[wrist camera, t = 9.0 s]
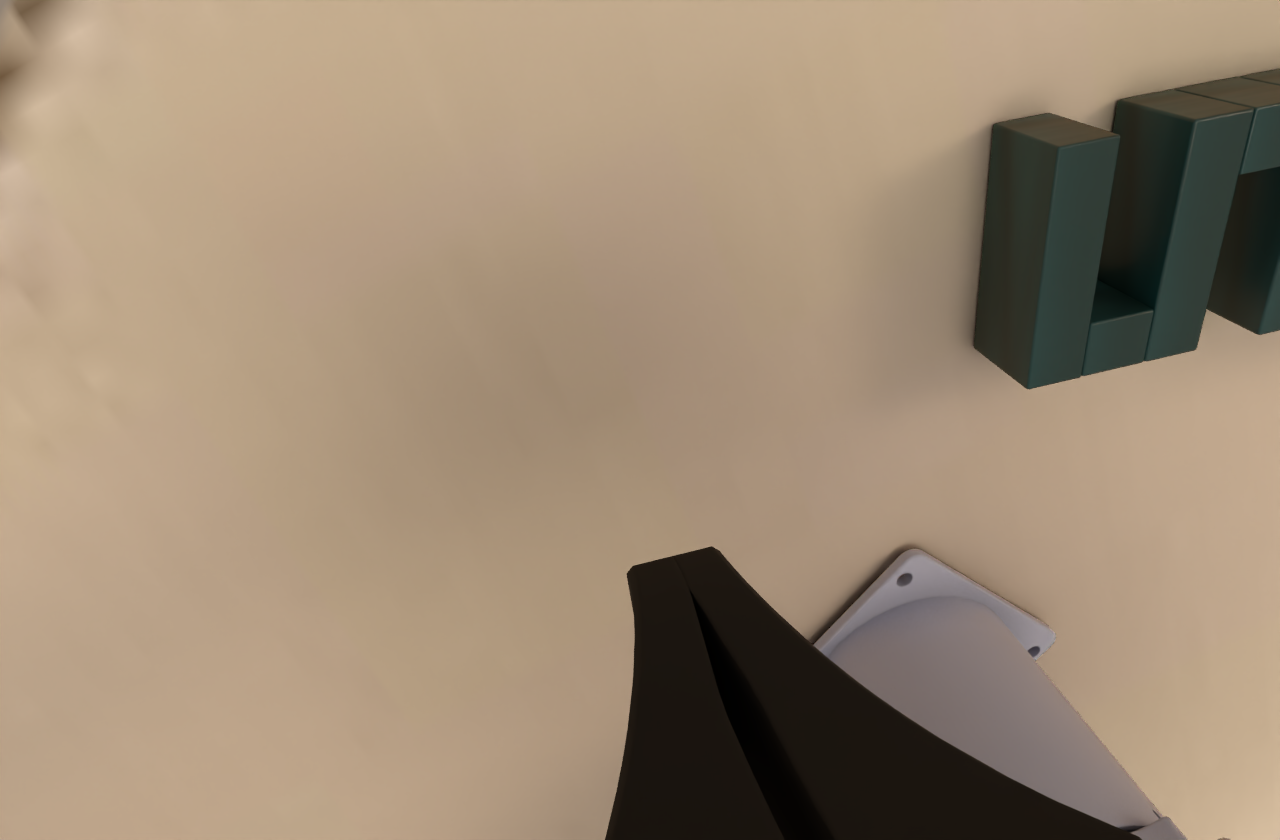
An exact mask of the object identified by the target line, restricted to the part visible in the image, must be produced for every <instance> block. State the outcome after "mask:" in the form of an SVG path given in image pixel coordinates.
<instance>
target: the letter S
mask: <svg viewBox="0 0 1280 840" xmlns="http://www.w3.org/2000/svg"><path fill="white" fill-rule="evenodd" d="M1206 309H1207V310H1209V311H1211V312H1213V313H1215V314H1217V315H1219V316H1221V317H1223V318H1225V319H1227V320H1229V321H1231V322H1233V323H1235V324H1237V325H1239V326H1241V327H1243V328H1245V329H1247V330H1249V331H1251V332H1253V333H1255V334H1258V335H1261V334H1266V333H1270V332H1274V331H1279V330H1280V69H1276V70H1271V71H1266V72H1261V73H1256V74H1250V75H1245V76H1241V77H1233V78H1228V79H1223V80H1218V81H1213V82H1207V83H1202V84H1197V85H1192V86H1187V87H1182V88H1176V89H1174V90H1167V91H1162V92H1157V93H1152V94H1146V95H1141V96H1136V97H1131V98H1126V99H1121V100H1119V101H1118V103H1117V109H1116V115H1115V122H1114V128H1113V133H1112V132H1109V131H1105V130H1102V129H1099V128H1096V127H1093V126H1089V125H1086V124H1083V123H1080V122H1077V121H1073V120H1070V119H1067V118H1064V117H1061V116H1058V115H1054V114H1051V113H1047V114H1042V115H1037V116H1031V117H1026V118H1021V119H1016V120H1011V121H1006V122H1000V123H996V124H994V125H993V135H992V146H991V158H990V169H989V180H988V192H987V203H986V214H985V226H984V237H983V249H982V260H981V271H980V283H979V294H978V305H977V317H976V328H975V340H974V348H975V349H976V350H977V351H979V352H980V353H981V354H982V355H984V356H985V357H986V358H988V359H989V360H990V361H991V362H993V363H994V364H995V365H997V366H998V367H999V368H1000V369H1002V370H1003V371H1004V372H1006V373H1007V374H1008V375H1009V376H1011V377H1012V378H1013V379H1014V380H1016V381H1017V382H1018V383H1020V384H1021V385H1022V386H1023V387H1025V388H1026V389H1032V388H1037V387H1041V386H1045V385H1049V384H1054V383H1058V382H1062V381H1066V380H1071V379H1075V378H1079V377H1081V376H1086V375H1091V374H1095V373H1099V372H1103V371H1108V370H1112V369H1116V368H1120V367H1125V366H1129V365H1133V364H1138V363H1141V362H1143V361H1151V360H1155V359H1159V358H1164V357H1168V356H1172V355H1176V354H1181V353H1185V352H1189V351H1194V350H1196V348H1197V345H1198V341H1199V337H1200V333H1201V329H1202V324H1203V320H1204V316H1205V312H1206Z"/></svg>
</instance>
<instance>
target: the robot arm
mask: <svg viewBox="0 0 1280 840" xmlns="http://www.w3.org/2000/svg"><path fill="white" fill-rule="evenodd" d="M902 574H904V575H903V576H901V575H902ZM899 576H901V577H899ZM898 577H899V578H898ZM627 579H628V585H629V590H630V596H631V601H632V607H633V612H634V627H635V646H634V673H633V687H632V696H631V704H630V713H629V722H628V730H627V737H626V743H625V750H624V756H623V761H622V767H621V772H620V777H619V782H618V787H617V792H616V796H615V801H614V805H613V809H612V813H611V817H610V822H609V826H608V830H607V834H606V838H605V840H1187V838H1186V837H1185V836H1184V835H1183V834H1182V832H1181V831H1180V830H1179V829H1178V828H1177V826H1176V825H1175V824H1174V823H1173V822H1172V820H1171V819H1170V818H1169V817H1164V816H1163V815H1162V814H1161V813H1160V812H1159V810H1158V809H1157V808H1156V807H1155V806H1154V804H1153V803H1152V802H1151V801H1150V799H1149V798H1148V797H1147V796H1146V795H1145V793H1144V792H1143V791H1142V790H1141V789H1140V787H1139V786H1138V785H1137V784H1136V783H1135V781H1134V780H1133V779H1132V778H1131V776H1130V775H1129V774H1128V773H1127V772H1126V770H1125V769H1124V768H1123V767H1122V766H1121V764H1120V763H1119V762H1118V761H1117V759H1116V758H1115V757H1114V756H1113V755H1112V753H1111V752H1110V751H1109V750H1108V749H1107V747H1106V746H1105V745H1104V744H1103V743H1102V741H1101V740H1100V739H1099V738H1098V736H1097V735H1096V734H1095V733H1094V732H1093V730H1092V729H1091V728H1090V727H1089V726H1088V724H1087V723H1086V722H1085V721H1084V719H1083V718H1082V717H1081V716H1080V715H1079V713H1078V712H1077V711H1076V710H1075V709H1074V707H1073V706H1072V705H1071V704H1070V703H1069V701H1068V700H1067V699H1066V698H1065V696H1064V695H1063V694H1062V693H1061V692H1060V690H1059V689H1058V688H1057V687H1056V686H1055V684H1054V683H1053V682H1052V681H1051V680H1050V678H1049V677H1048V676H1047V675H1046V673H1045V672H1044V671H1043V670H1042V669H1041V667H1040V666H1039V665H1038V664H1037V663H1036V660H1037V659H1038V658H1039V657H1040V656H1041V655H1042V654H1043V653H1044V652H1045V651H1046V650H1047V649H1049V648H1050V647H1051V646H1052V644H1053V643H1054V641H1055V639H1056V634H1055V633H1054V631H1053V630H1052V629H1051V628H1050V627H1049V626H1048V625H1047V624H1045V623H1043V622H1042V621H1040V620H1038V619H1037V618H1035V617H1033V616H1032V615H1030V614H1028V613H1027V612H1025V611H1023V610H1021V609H1020V608H1018V607H1016V606H1015V605H1013V604H1011V603H1010V602H1008V601H1006V600H1005V599H1003V598H1001V597H1000V596H998V595H996V594H995V593H993V592H991V591H989V590H988V589H986V588H984V587H983V586H981V585H979V584H978V583H976V582H974V581H973V580H971V579H969V578H968V577H966V576H964V575H963V574H961V573H959V572H958V571H956V570H954V569H952V568H951V567H949V566H947V565H946V564H944V563H942V562H941V561H939V560H937V559H936V558H934V557H932V556H931V555H929V554H927V553H926V552H924V551H922V550H920V549H910V550H907V551H905V552H903V553H902V554H901V555H900V556H899V557H898V558H897V559H896V560H895V561H894V562H893V563H892V564H891V565H890V566H889V567H888V568H887V569H886V570H885V571H884V572H883V573H882V574H881V575H880V576H879V577H878V578H877V580H876V581H875V582H874V583H873V584H872V585H871V586H870V587H869V588H868V589H867V590H866V591H865V592H864V593H863V594H862V595H861V596H860V597H859V598H858V599H857V600H856V601H855V602H854V603H853V604H852V605H851V606H850V607H849V608H848V609H847V611H846V612H845V613H844V614H843V615H842V616H841V617H840V618H839V619H838V620H837V621H836V622H835V623H834V624H833V625H832V626H831V627H830V628H829V629H828V630H827V631H826V632H825V633H824V634H823V635H822V636H821V637H820V638H819V639H818V641H817V642H816V643H815V644H814V645H812V644H811V643H810V642H809V641H808V640H807V639H805V638H804V637H803V636H802V635H801V634H800V633H799V632H798V631H797V630H796V629H794V628H793V627H792V626H791V625H790V624H789V623H788V622H787V621H786V620H785V619H784V618H782V617H781V616H780V615H779V614H778V613H777V612H776V611H775V610H774V609H773V608H772V607H771V606H770V605H769V604H768V603H767V602H766V601H765V600H764V599H763V598H762V597H761V596H760V595H759V594H758V593H757V592H756V591H755V590H754V589H753V588H752V587H751V586H750V585H749V584H748V583H747V582H746V581H745V579H744V578H743V577H742V576H741V575H740V574H739V573H738V572H737V571H736V570H735V569H734V567H733V566H732V565H731V564H730V563H729V562H728V561H727V559H726V558H725V557H724V556H723V555H722V553H721V552H720V551H719V550H717V549H715V548H714V547H708V548H704V549H700V550H696V551H692V552H688V553H684V554H680V555H676V556H671V557H667V558H663V559H659V560H655V561H651V562H647V563H643V564H639V565H635V566H633V567H632V568H631V569H630V570H629V571H628V573H627ZM1218 840H1230V839H1228V838H1220V839H1218Z"/></svg>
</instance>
